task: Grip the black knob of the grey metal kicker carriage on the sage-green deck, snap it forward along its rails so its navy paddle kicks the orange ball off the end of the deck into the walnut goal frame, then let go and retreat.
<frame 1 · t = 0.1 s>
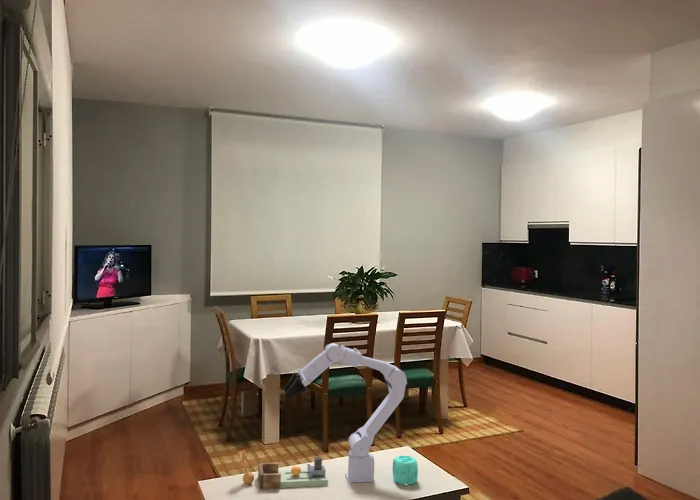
hand: (285, 393, 212), 32 cm above the table, tool tilted 50°, fingers open, 7 cm apart
kicker: (316, 465, 214), point 5 cm above the table, slide at 0.0 cm
ball: (296, 470, 213), point 4 cm above the table, touching deck
deck: (302, 480, 213), on the table
goal: (269, 482, 211), on the table
figurine: (245, 484, 209), on the table
decorative dice: (404, 481, 217), on the table
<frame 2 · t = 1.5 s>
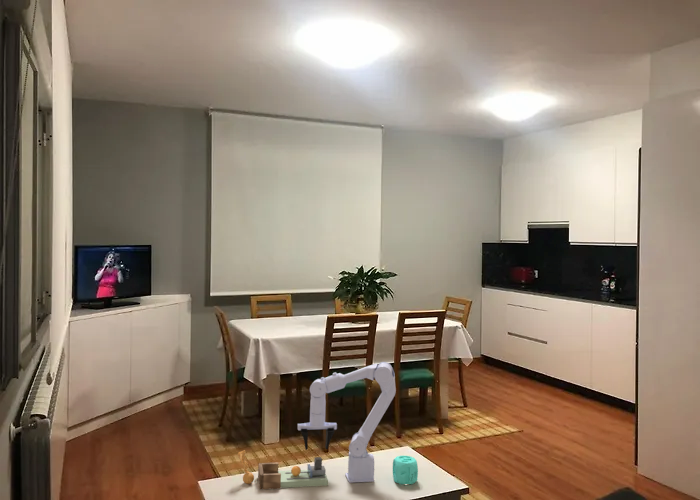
hand: (316, 448, 219), 10 cm above the table, tool pointing down, fingers open, 7 cm apart
nothing on the table moved.
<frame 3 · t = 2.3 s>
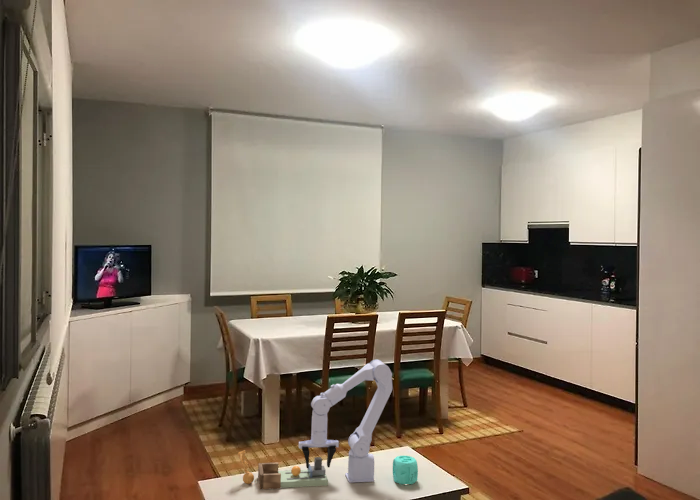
hand: (317, 466, 214), 5 cm above the table, tool pointing down, fingers open, 7 cm apart
nothing on the table moved.
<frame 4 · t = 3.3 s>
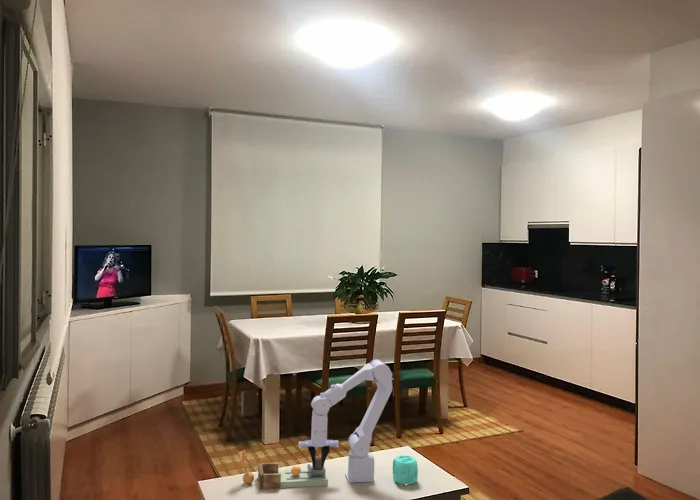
hand: (317, 466, 214), 5 cm above the table, tool pointing down, fingers closed on kicker, 2 cm apart
kicker: (316, 465, 214), point 5 cm above the table, slide at 0.0 cm, touching gripper
everything else where it was.
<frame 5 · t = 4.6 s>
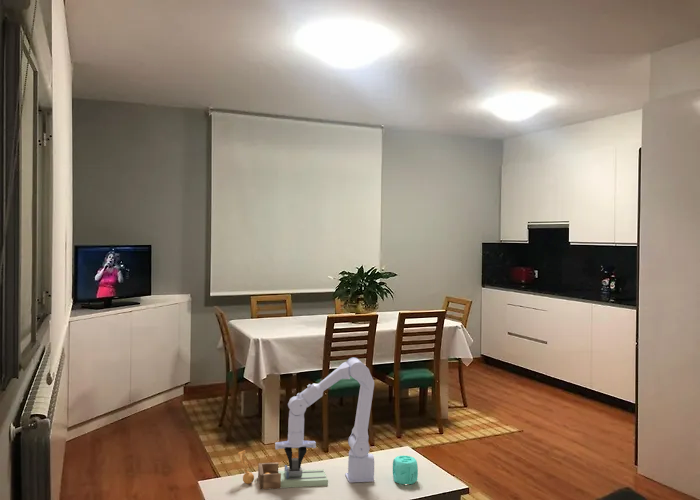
hand: (294, 467, 213), 5 cm above the table, tool pointing down, fingers closed on kicker, 2 cm apart
kicker: (293, 466, 213), point 5 cm above the table, slide at 8.5 cm, touching gripper
ball: (267, 477, 211), point 2 cm above the table, tilted 10°
everything else where it was.
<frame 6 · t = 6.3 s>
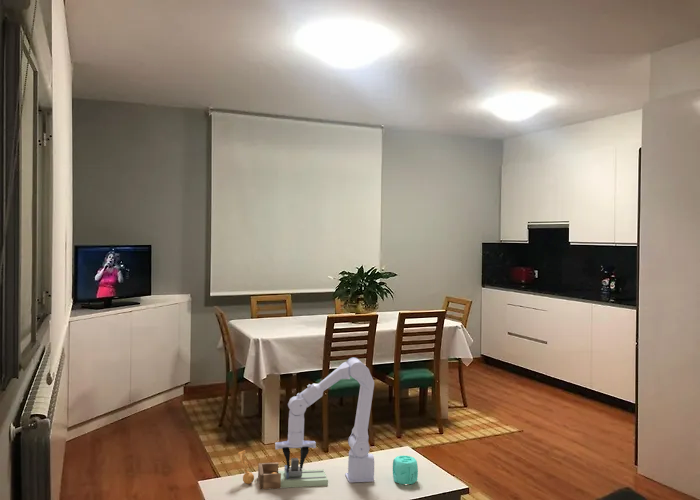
hand: (294, 467, 213), 5 cm above the table, tool pointing down, fingers open, 4 cm apart
kicker: (293, 466, 213), point 5 cm above the table, slide at 8.5 cm
ball: (274, 477, 211), point 2 cm above the table, tilted 89°
everything else where it was.
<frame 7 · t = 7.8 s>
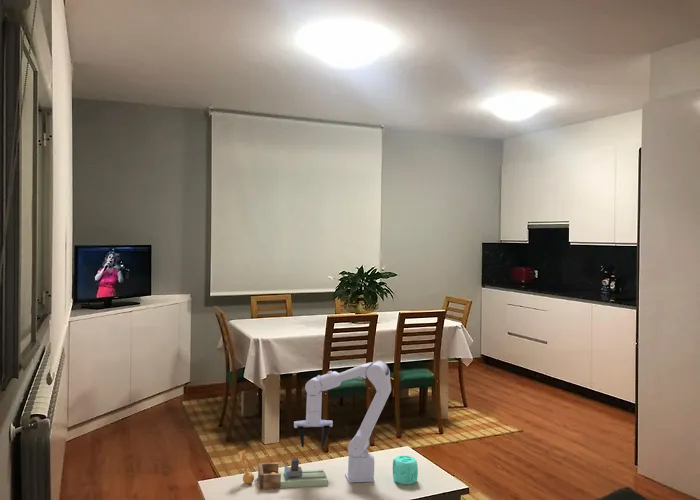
hand: (312, 445, 222), 10 cm above the table, tool pointing down, fingers open, 7 cm apart
ball: (273, 477, 211), point 2 cm above the table, tilted 78°
everything else where it was.
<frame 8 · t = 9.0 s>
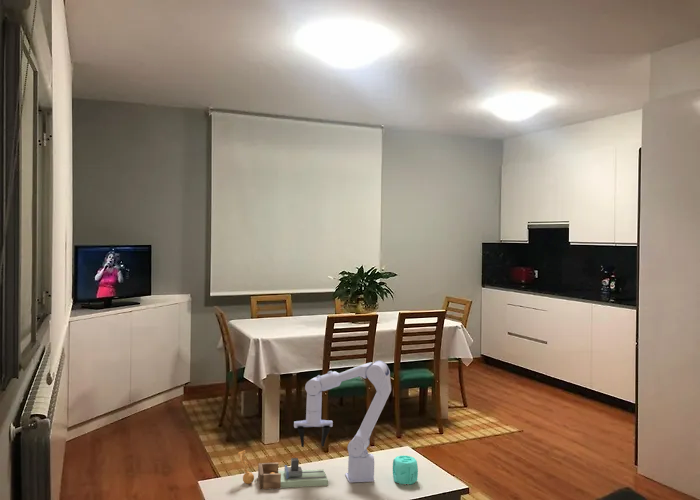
hand: (312, 445, 222), 10 cm above the table, tool pointing down, fingers open, 7 cm apart
ball: (272, 477, 211), point 2 cm above the table, tilted 69°
everything else where it was.
at the end: ball inside the target area (0.9 cm from its centre), point 1.7 cm above the table; kicker slide at 8.5 cm; the gripper is holding nothing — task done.
